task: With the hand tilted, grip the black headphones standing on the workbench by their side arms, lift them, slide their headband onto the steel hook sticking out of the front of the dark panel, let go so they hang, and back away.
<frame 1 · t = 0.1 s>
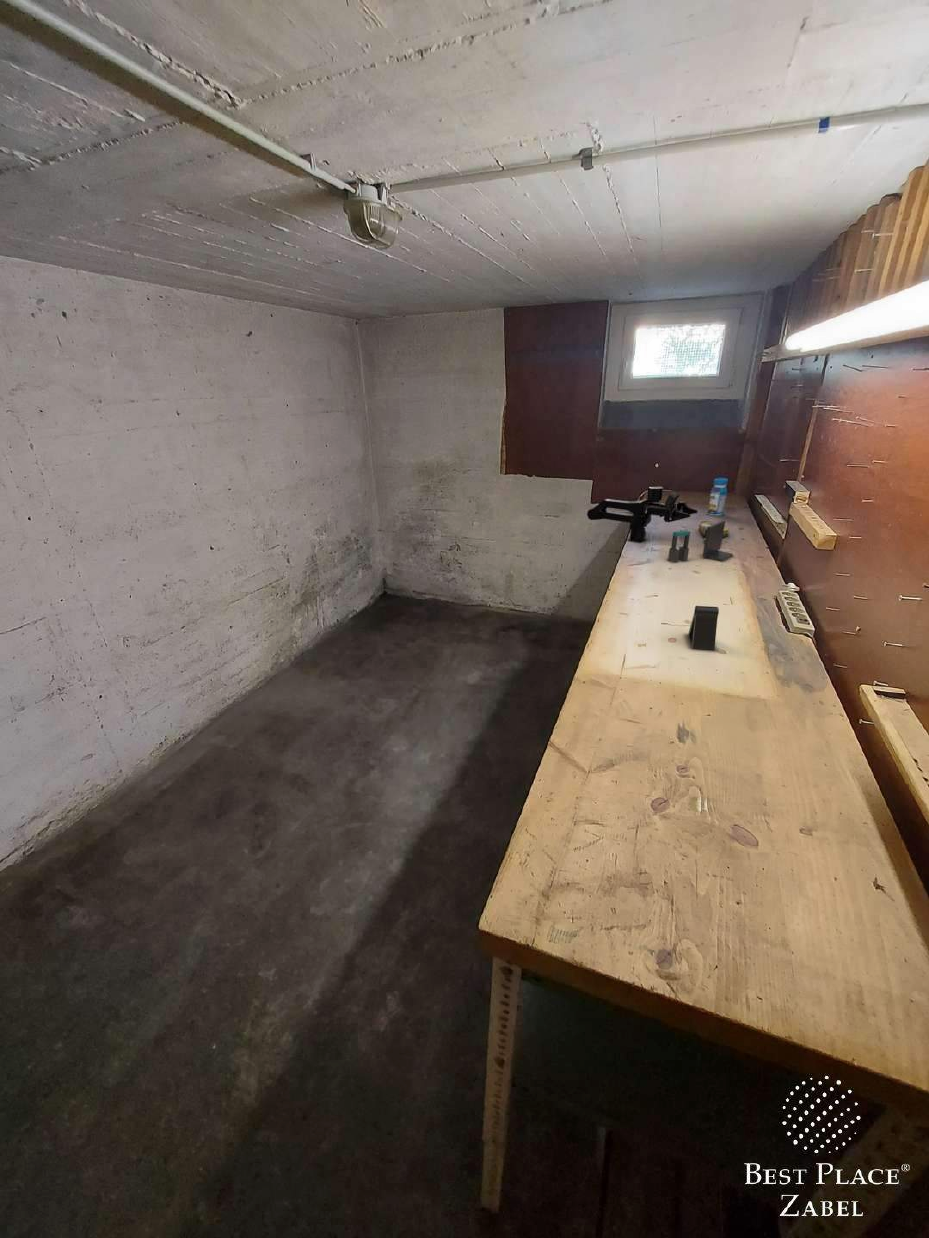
hand: (693, 513, 221), 17 cm above the table, tool horizontal, fingers open, 9 cm apart
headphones: (677, 560, 214), on the table
beverage bottle: (715, 514, 281), on the table
phone stand: (700, 643, 148), on the table
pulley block: (711, 537, 242), on the table
dark panel: (710, 555, 218), on the table
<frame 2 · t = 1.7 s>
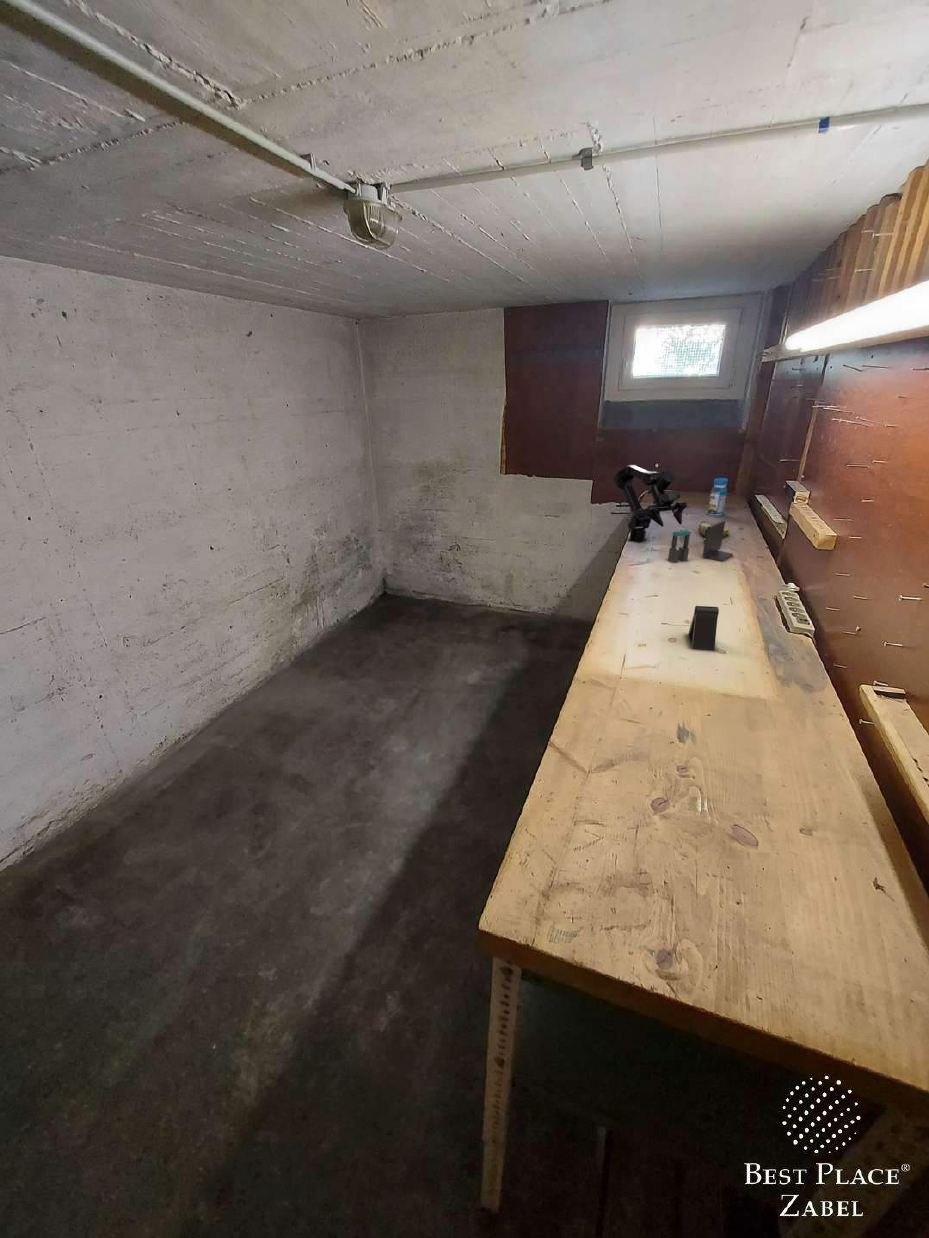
hand: (671, 525, 215), 14 cm above the table, tool tilted 45°, fingers open, 9 cm apart
nothing on the table moved.
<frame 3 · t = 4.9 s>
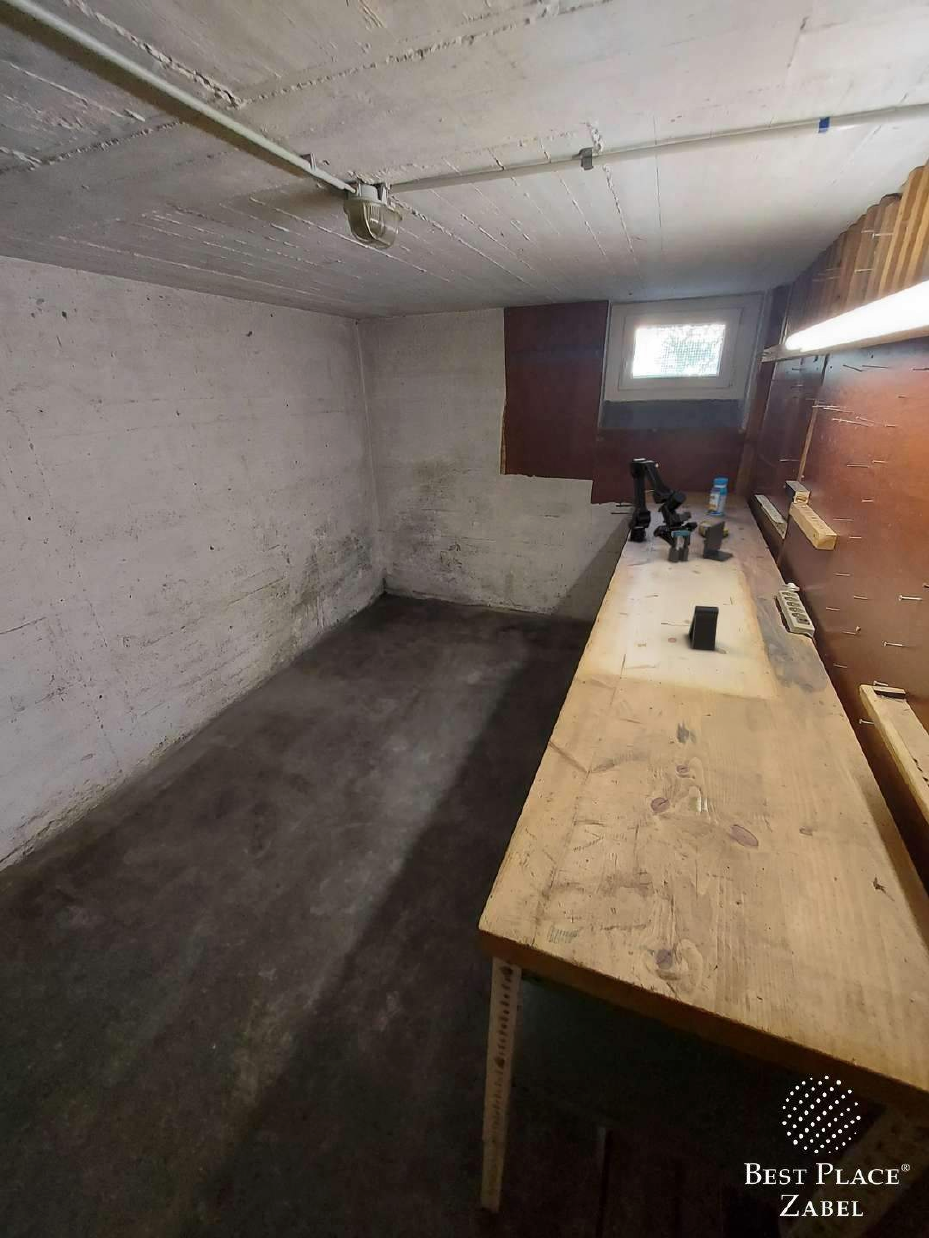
hand: (681, 546, 210), 7 cm above the table, tool tilted 45°, fingers closed on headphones, 7 cm apart
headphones: (677, 560, 214), on the table, touching gripper
everything else where it was.
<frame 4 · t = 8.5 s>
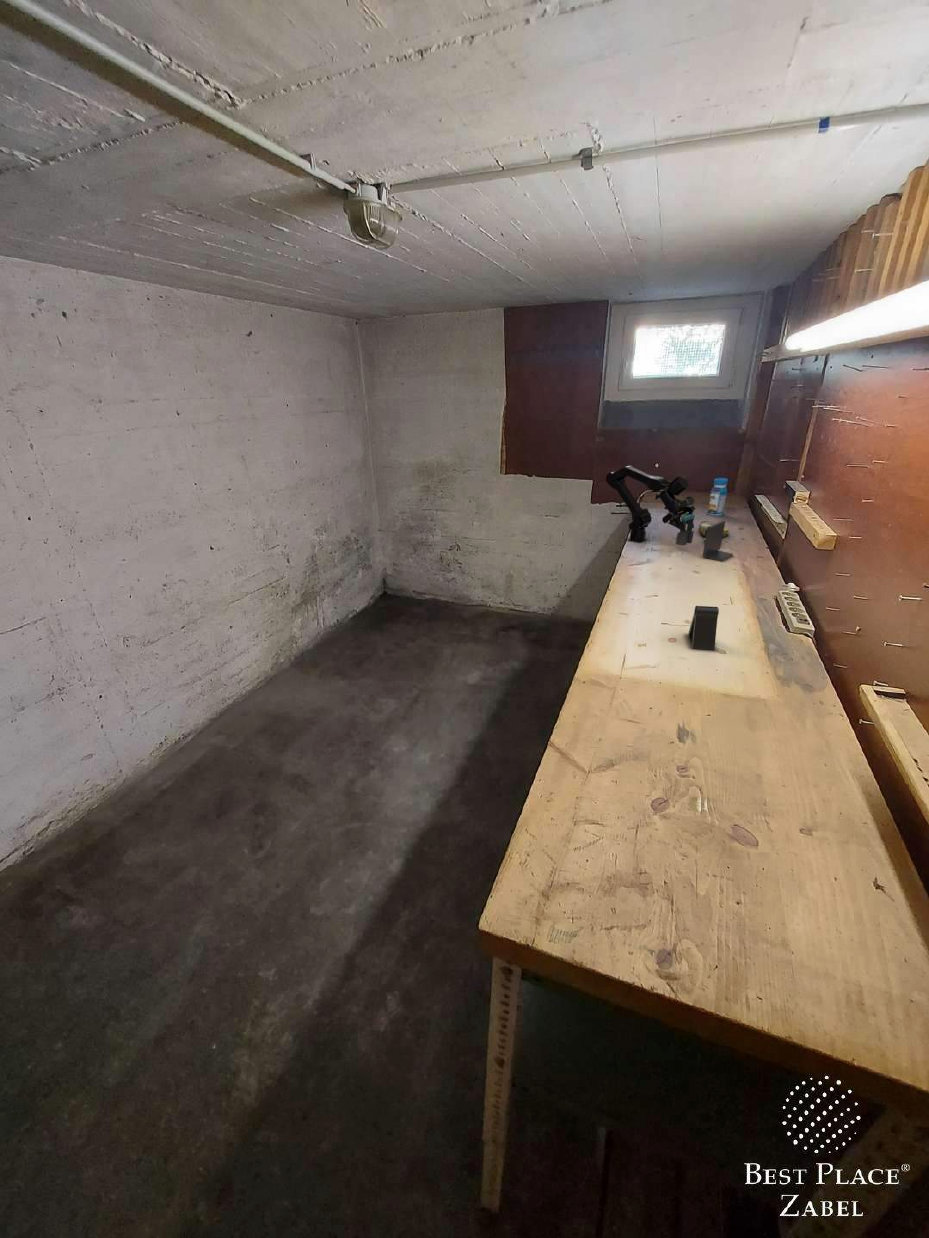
hand: (689, 529, 220), 10 cm above the table, tool tilted 45°, fingers closed on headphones, 7 cm apart
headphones: (683, 543, 224), point 3 cm above the table, touching gripper
everything else where it was.
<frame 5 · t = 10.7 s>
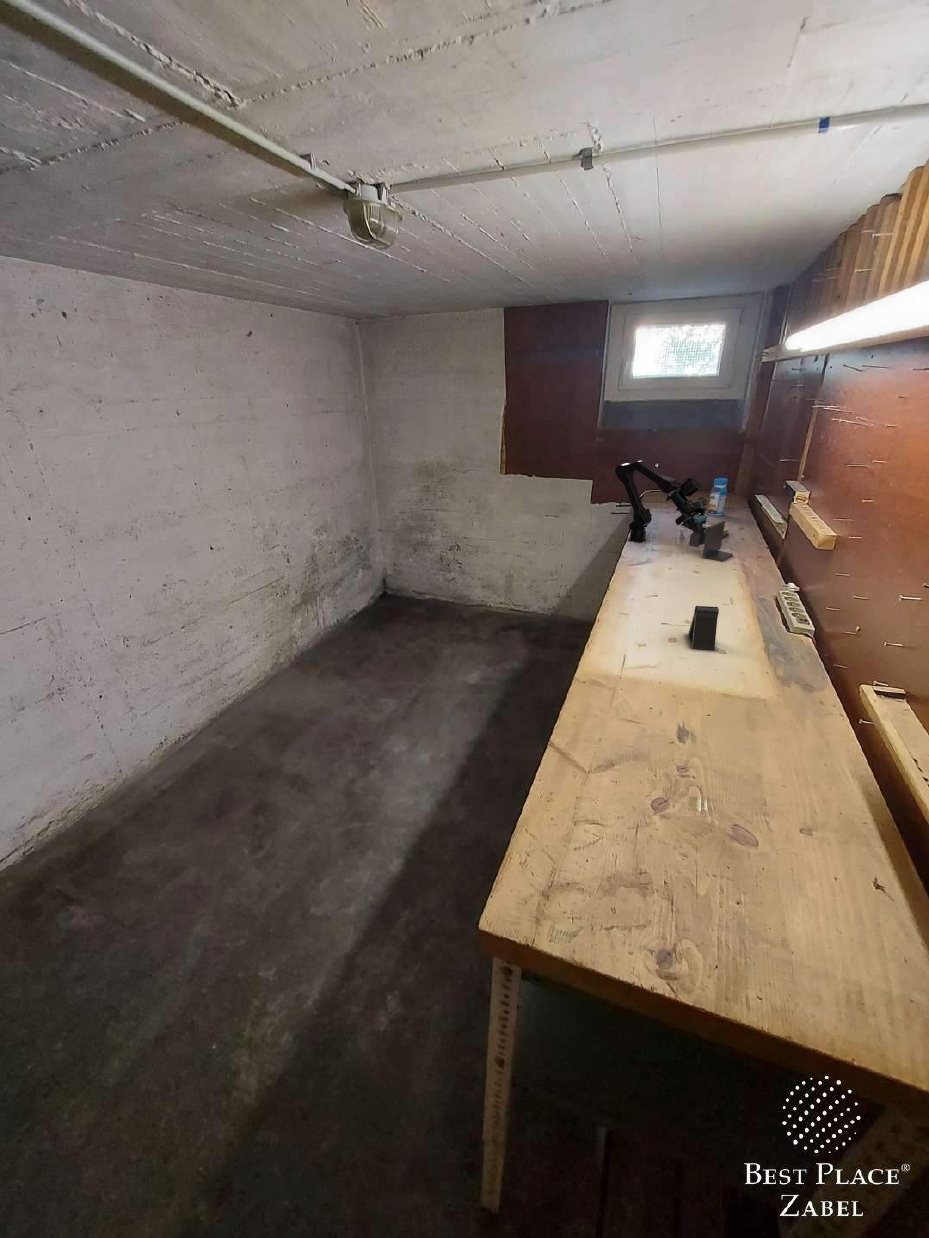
hand: (702, 530, 217), 10 cm above the table, tool tilted 45°, fingers closed on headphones, 7 cm apart
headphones: (696, 544, 221), point 3 cm above the table, touching gripper
everything else where it was.
when the fingers open (9 cm above the table, at t = 12.4 s): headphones stays where it is, resting on dark panel.
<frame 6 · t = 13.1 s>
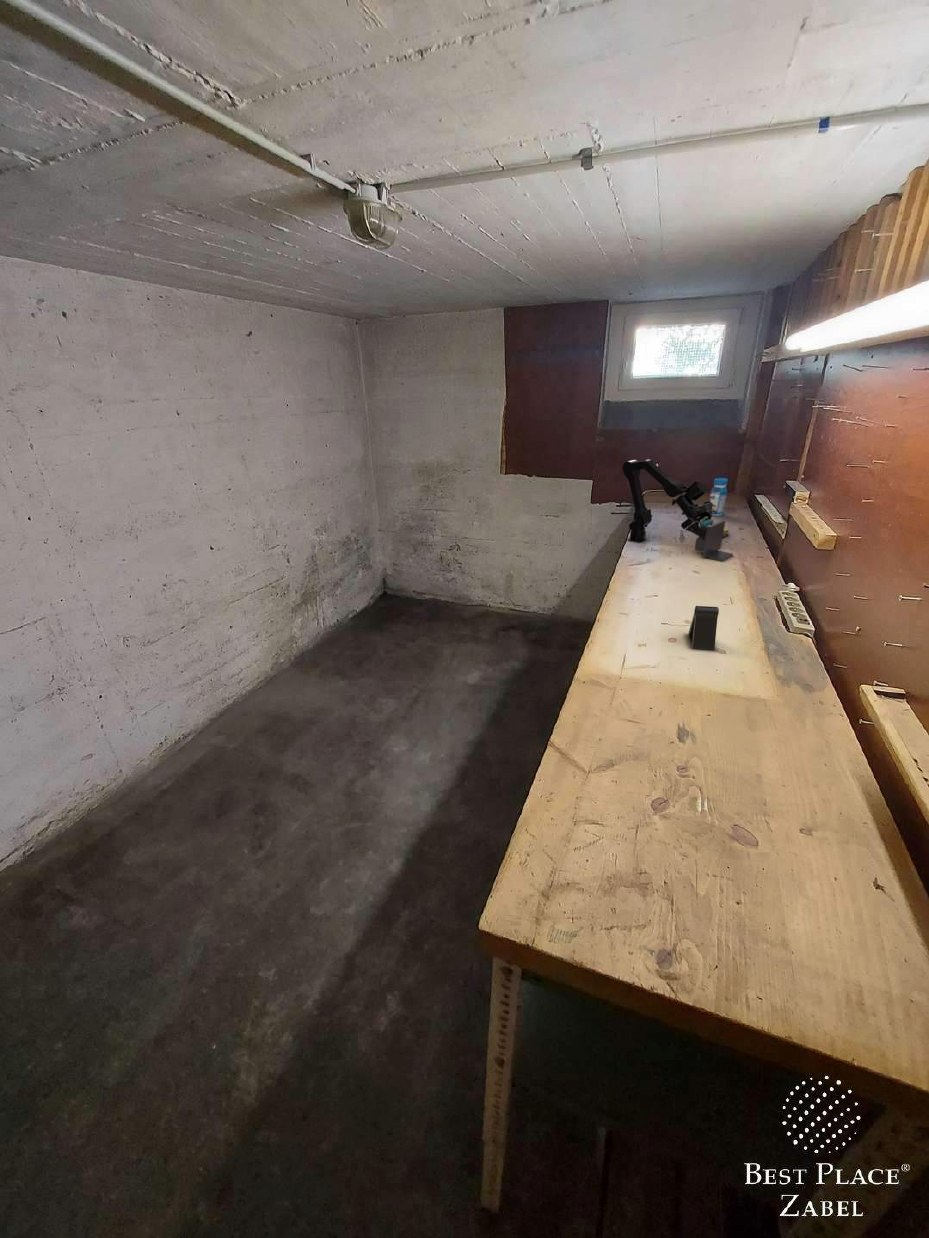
hand: (708, 534, 216), 9 cm above the table, tool tilted 45°, fingers open, 9 cm apart
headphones: (702, 549, 220), point 2 cm above the table, touching dark panel
everything else where it was.
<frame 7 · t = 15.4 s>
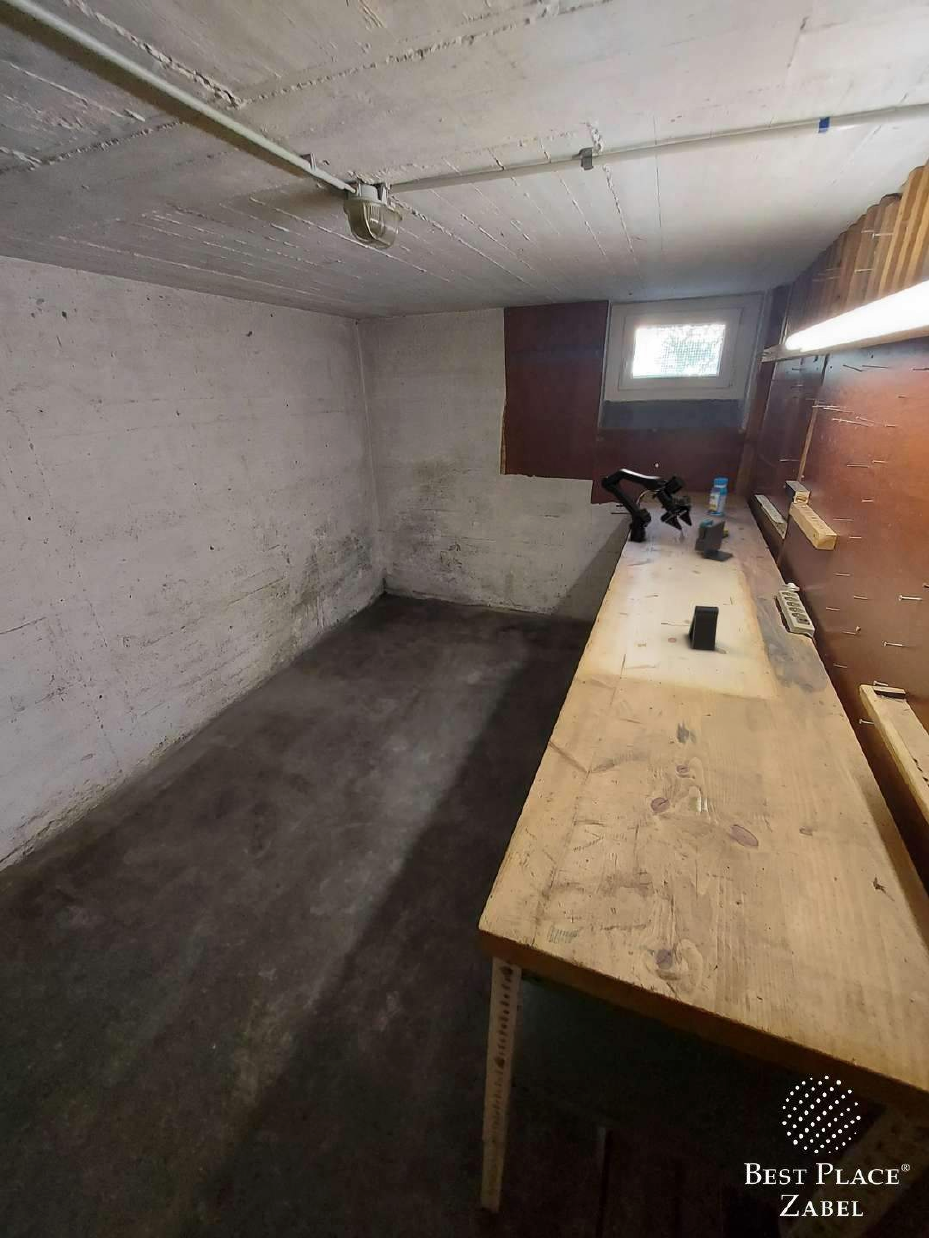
hand: (686, 527, 222), 10 cm above the table, tool tilted 45°, fingers open, 9 cm apart
nothing on the table moved.
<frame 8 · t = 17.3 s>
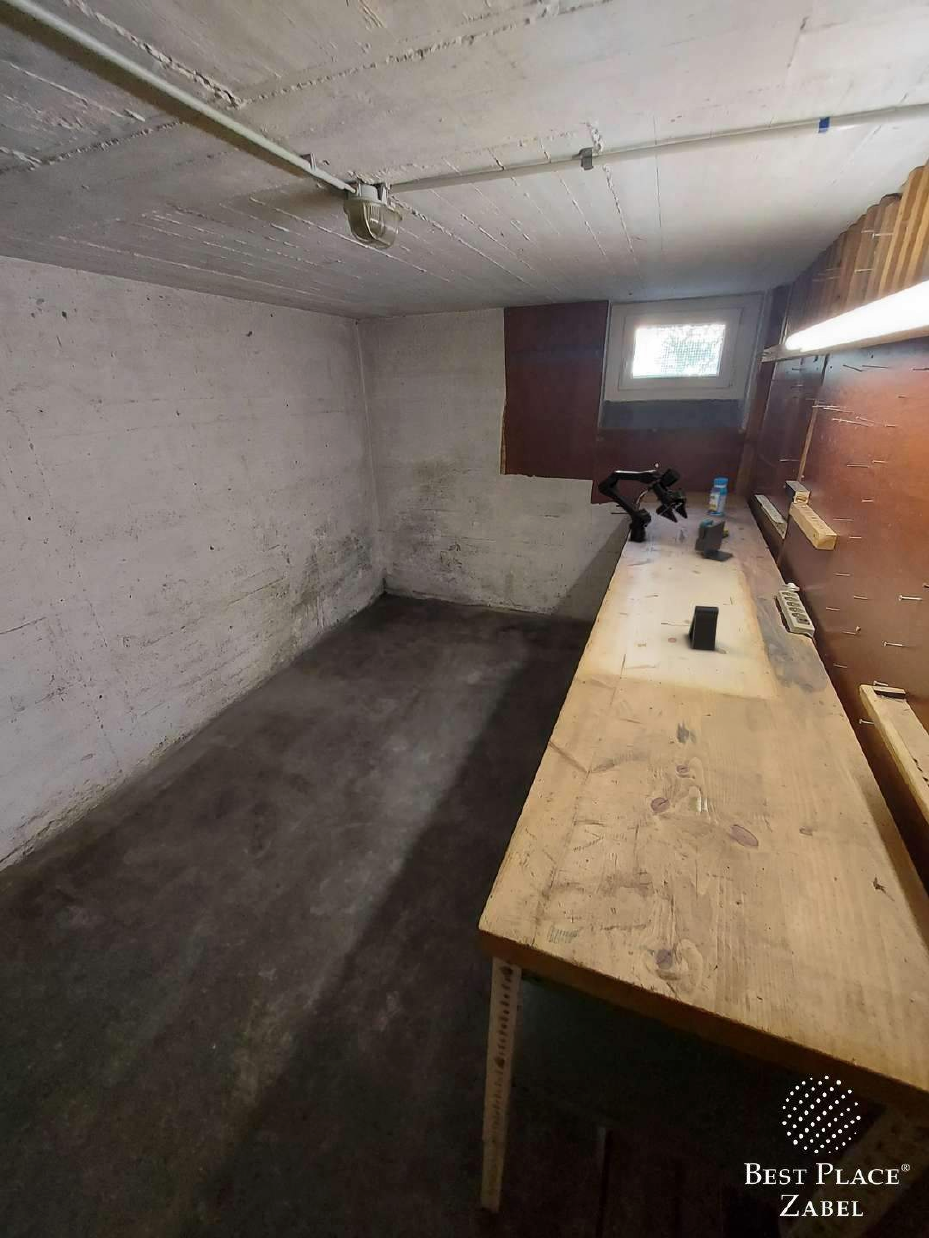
hand: (681, 520, 223), 14 cm above the table, tool tilted 45°, fingers open, 9 cm apart
nothing on the table moved.
at the end: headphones 0.0 cm from the target spot on the dark panel, point 2.0 cm above the dark panel's base; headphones touching dark panel; the gripper is holding nothing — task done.
